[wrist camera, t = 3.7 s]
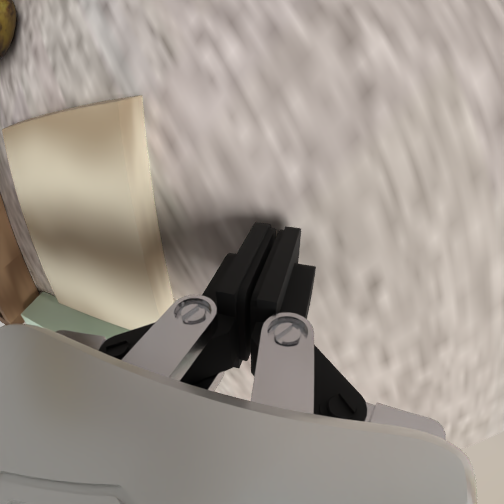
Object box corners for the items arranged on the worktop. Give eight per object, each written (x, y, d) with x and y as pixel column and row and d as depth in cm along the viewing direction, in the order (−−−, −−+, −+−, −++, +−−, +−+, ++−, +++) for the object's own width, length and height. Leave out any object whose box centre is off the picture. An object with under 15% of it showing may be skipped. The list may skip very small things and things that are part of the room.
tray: (42, 291, 21) (20, 314, 18) (147, 330, 18) (123, 365, 16) (87, 370, 27) (73, 391, 24) (178, 409, 24) (165, 435, 22)
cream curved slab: (28, 118, 12) (2, 129, 11) (149, 93, 10) (117, 101, 9) (75, 285, 19) (58, 302, 18) (182, 317, 17) (167, 342, 15)
